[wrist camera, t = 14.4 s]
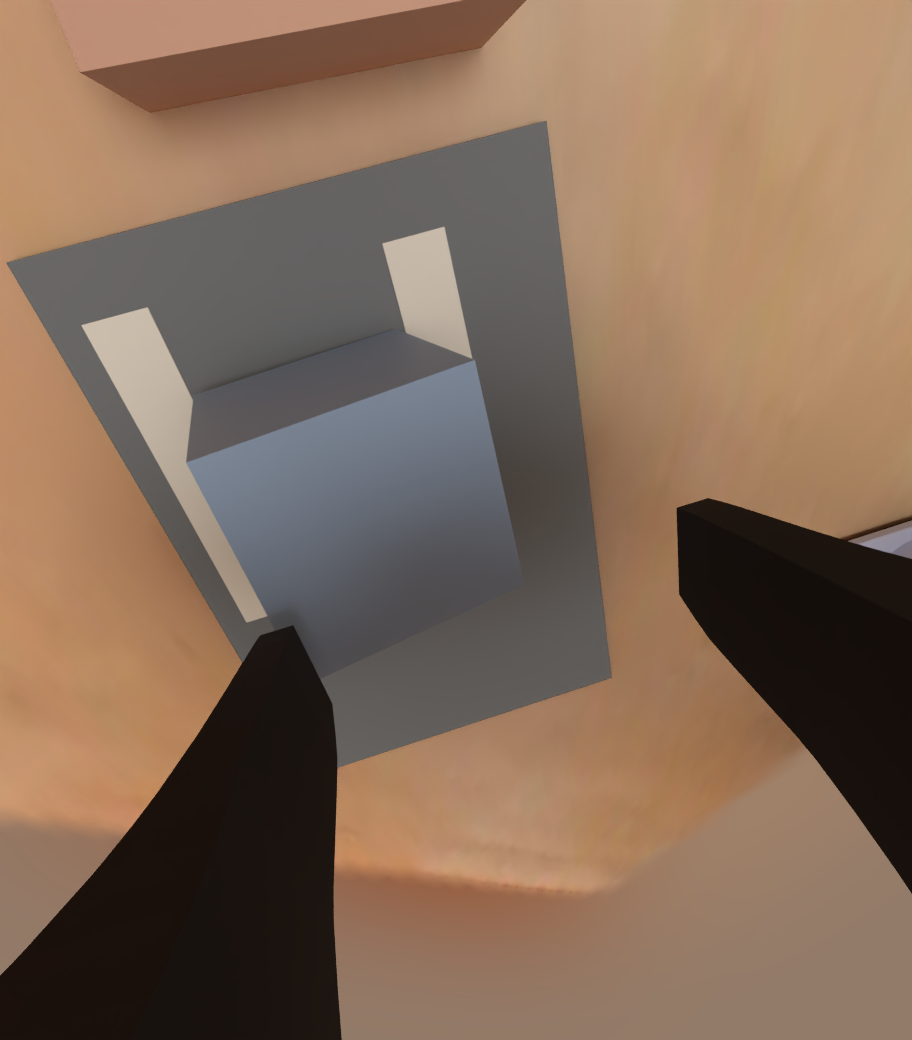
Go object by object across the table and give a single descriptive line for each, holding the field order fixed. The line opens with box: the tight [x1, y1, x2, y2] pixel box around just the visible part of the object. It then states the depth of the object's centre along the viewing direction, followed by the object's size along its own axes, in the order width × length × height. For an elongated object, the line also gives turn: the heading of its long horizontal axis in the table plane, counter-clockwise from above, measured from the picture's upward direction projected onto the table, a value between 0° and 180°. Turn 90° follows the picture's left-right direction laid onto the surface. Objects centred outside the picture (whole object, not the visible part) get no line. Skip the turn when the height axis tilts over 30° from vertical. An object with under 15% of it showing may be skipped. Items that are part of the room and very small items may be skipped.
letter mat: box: [7, 121, 612, 768], centre depth 17 cm, size 18×12×1 cm, turn 13°
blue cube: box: [186, 329, 524, 679], centre depth 13 cm, size 5×5×5 cm
